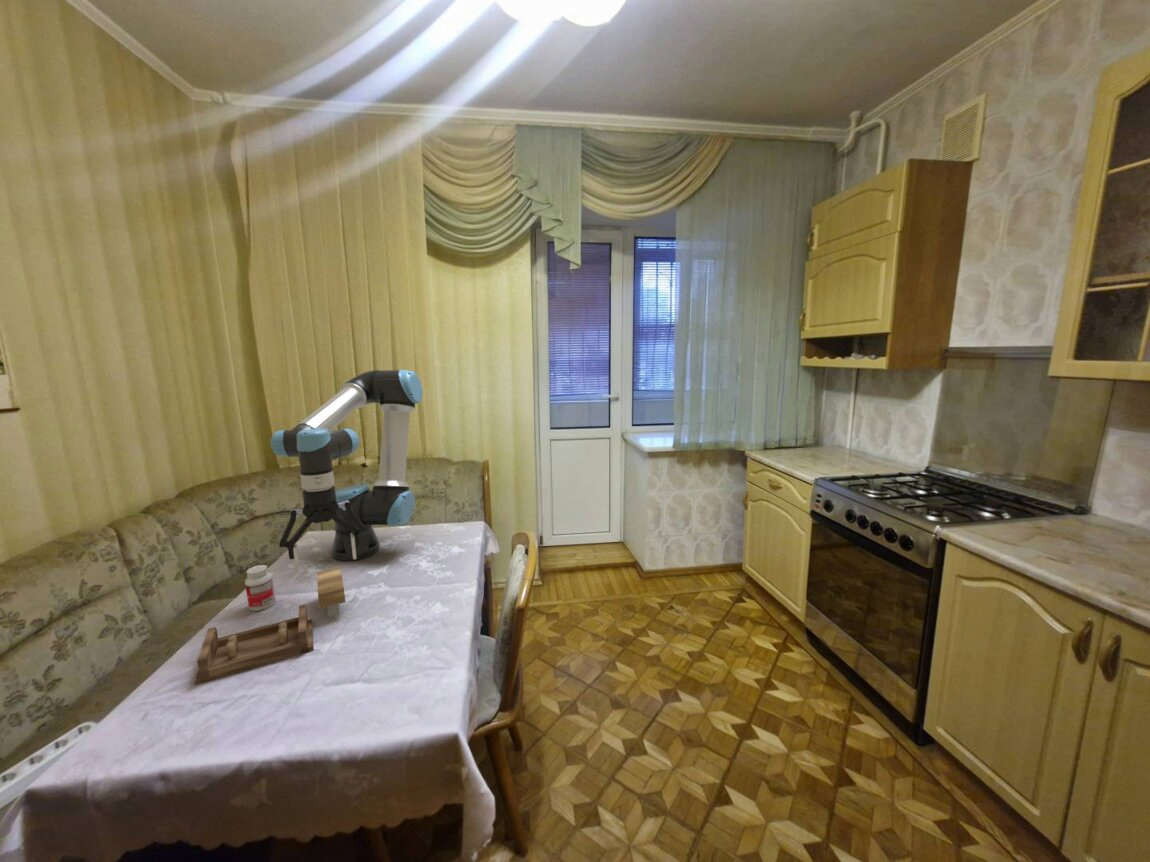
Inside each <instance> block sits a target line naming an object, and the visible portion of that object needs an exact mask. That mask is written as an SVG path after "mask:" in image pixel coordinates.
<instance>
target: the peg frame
mask: <svg viewBox="0 0 1150 862" xmlns="http://www.w3.org/2000/svg"><path fill="white" fill-rule="evenodd" d="M313 624H314V621H313V618H311V619H309V618H308V611H307V605H306V604H302V605H301V604H300V605H299V606H298V616H297V617H293V618H289V619H286V620H282V621H279V622H278V621H277V622H274V623H269V624H266V625H263V626H259V627H255V628H254V627H253V628H250V629H248V630H244V631H240V632H236V633H233V634H229V635H223V636H219V635H218V629H217V626H214V627H210V628H207V631H206V635H205V636H204V640H203V643H202V647H200V648H201V649H200V652H199V655H198V658H197V660H196V661H197V666H198V670H197V673H196V676H195V679H194V684H195V686H197V685H201V684H205V683H207V682H211V681H215V680H218V679H220V678H224V677H227V676H230V675H235V674H238V673H241V672H245V671H248V670H251V669H255V668H257V667H261V666H265V665H268V664H272V663H275V662H279V661H282V660H285V659H288V658H292V657H296V656H298V655H301V654H305V653H308V652H312V651H314V626H313ZM200 683H201V684H200Z"/></svg>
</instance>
